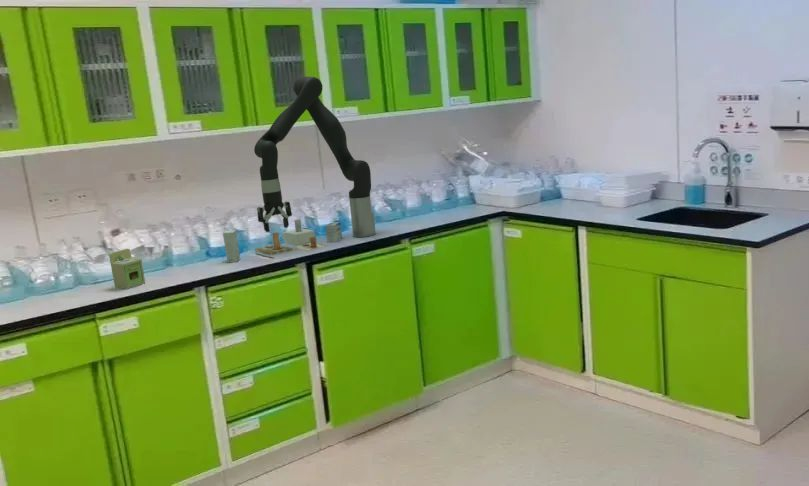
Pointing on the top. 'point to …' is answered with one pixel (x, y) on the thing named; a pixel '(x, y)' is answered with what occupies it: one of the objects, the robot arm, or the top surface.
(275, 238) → the peg
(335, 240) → the medicine box
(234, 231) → the skincare box
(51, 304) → the top surface
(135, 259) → the toy sink
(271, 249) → the build board
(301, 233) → the cover
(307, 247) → the board
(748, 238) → the top surface
